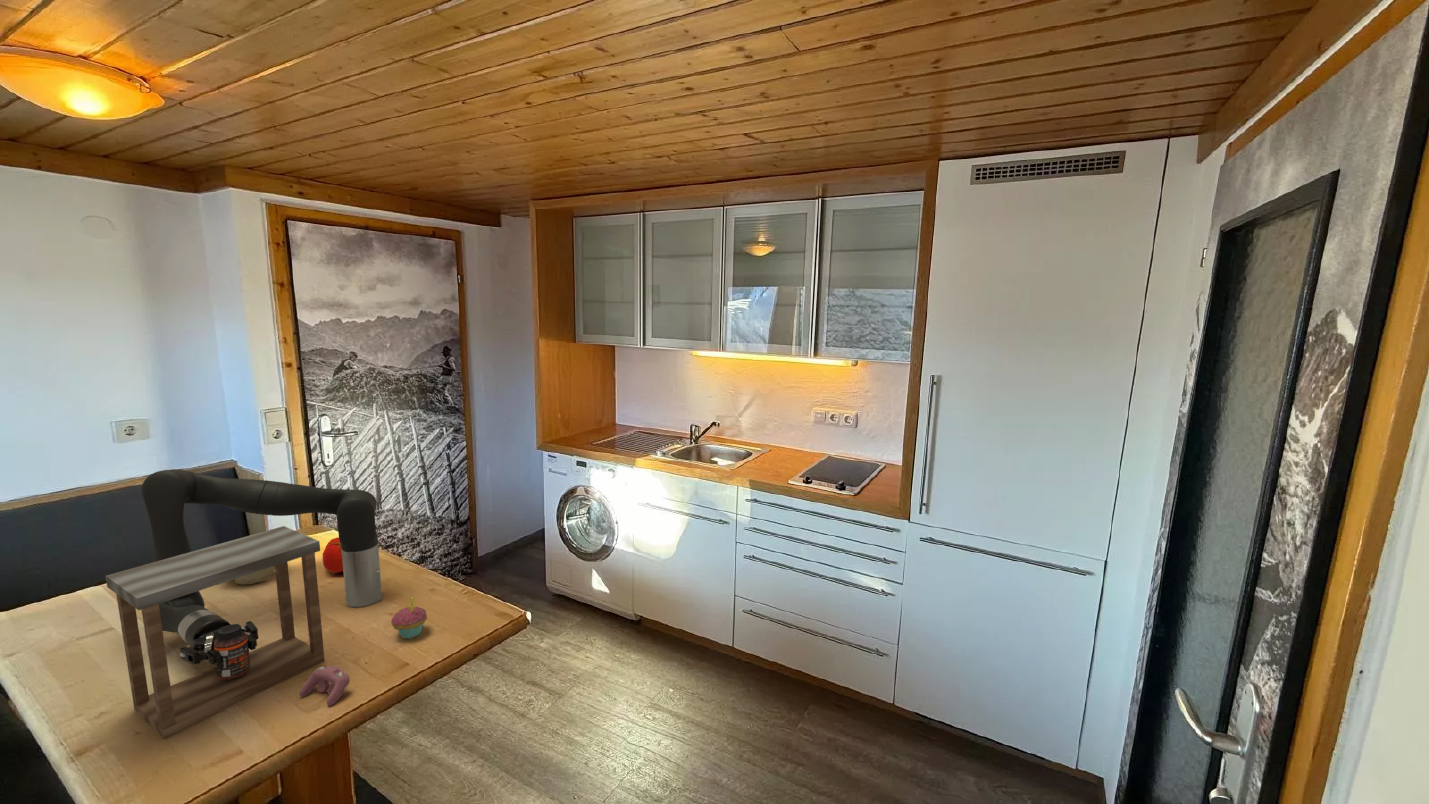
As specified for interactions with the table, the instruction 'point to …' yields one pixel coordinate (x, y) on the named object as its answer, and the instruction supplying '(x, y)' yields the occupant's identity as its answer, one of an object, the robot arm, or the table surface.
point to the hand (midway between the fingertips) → (236, 652)
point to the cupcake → (409, 620)
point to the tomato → (333, 556)
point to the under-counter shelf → (207, 683)
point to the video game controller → (327, 682)
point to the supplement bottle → (232, 652)
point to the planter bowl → (256, 576)
